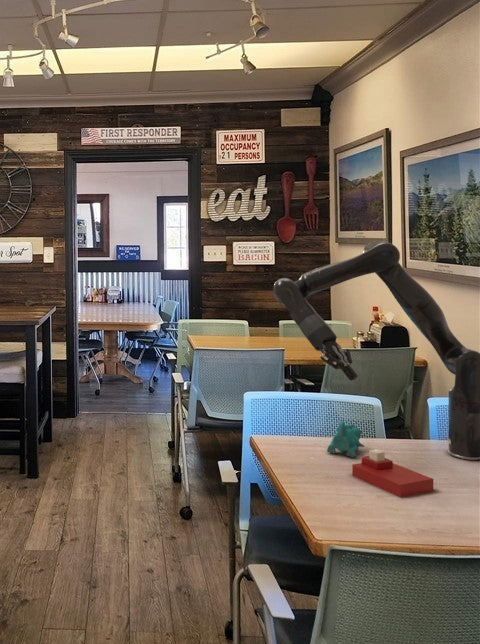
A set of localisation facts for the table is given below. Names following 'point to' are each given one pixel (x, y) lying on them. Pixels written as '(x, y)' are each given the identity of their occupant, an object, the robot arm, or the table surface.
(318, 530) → the table surface
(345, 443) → the toy
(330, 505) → the table surface
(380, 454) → the white cube
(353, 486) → the table surface
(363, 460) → the red push button box
